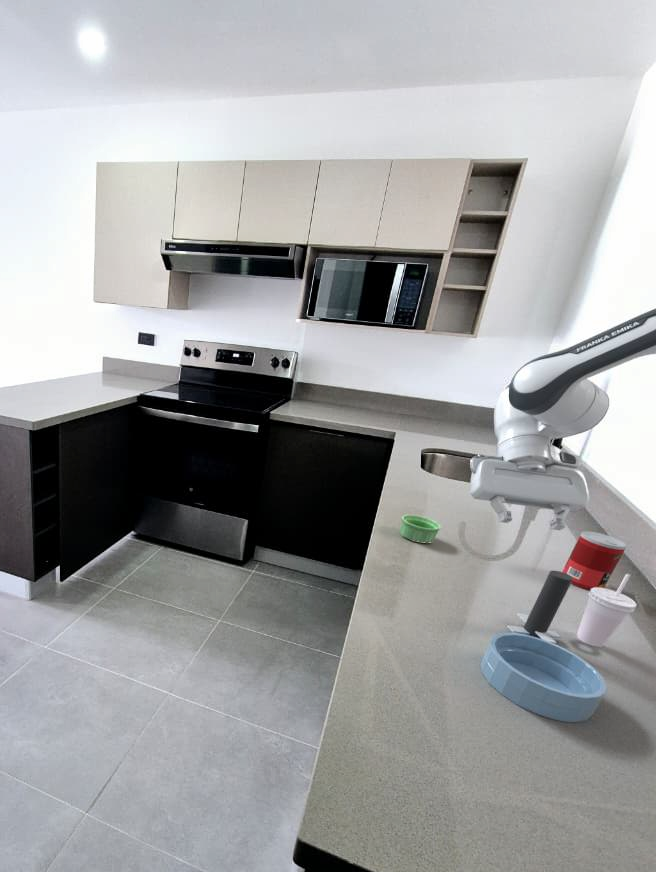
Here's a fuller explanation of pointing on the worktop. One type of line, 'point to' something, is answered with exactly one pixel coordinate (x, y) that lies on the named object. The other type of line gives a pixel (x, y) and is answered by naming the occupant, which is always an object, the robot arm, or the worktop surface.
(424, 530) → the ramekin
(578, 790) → the worktop surface
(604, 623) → the smoothie
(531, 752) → the worktop surface
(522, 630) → the black cylinder
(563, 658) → the shallow blue bowl
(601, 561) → the canned food
